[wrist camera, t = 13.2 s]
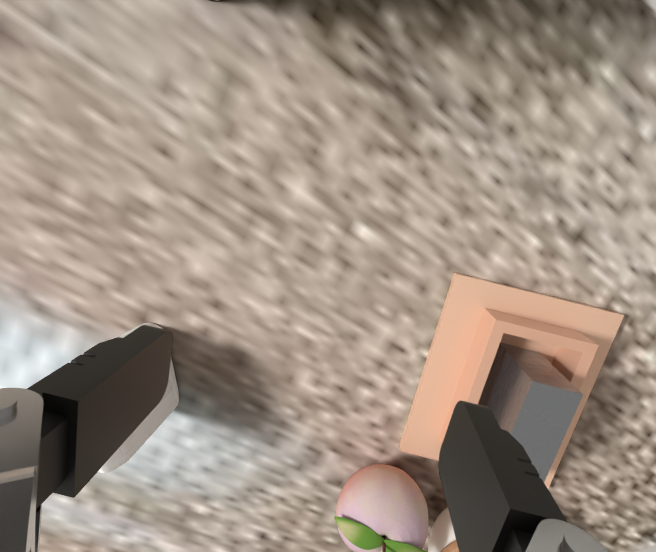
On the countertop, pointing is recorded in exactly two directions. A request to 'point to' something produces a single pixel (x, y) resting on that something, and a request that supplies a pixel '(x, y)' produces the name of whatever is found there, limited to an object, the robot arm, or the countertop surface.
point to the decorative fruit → (382, 511)
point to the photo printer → (145, 420)
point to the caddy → (482, 344)
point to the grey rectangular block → (530, 402)
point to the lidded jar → (443, 534)
